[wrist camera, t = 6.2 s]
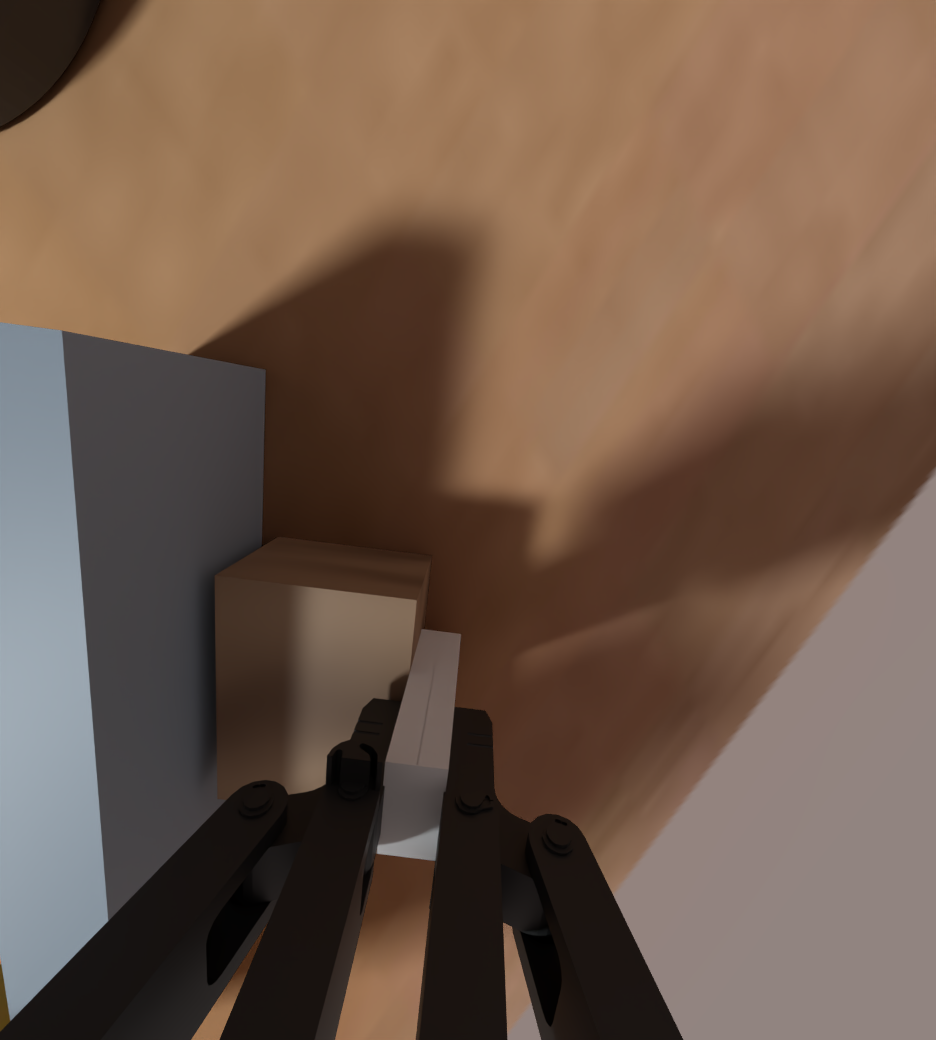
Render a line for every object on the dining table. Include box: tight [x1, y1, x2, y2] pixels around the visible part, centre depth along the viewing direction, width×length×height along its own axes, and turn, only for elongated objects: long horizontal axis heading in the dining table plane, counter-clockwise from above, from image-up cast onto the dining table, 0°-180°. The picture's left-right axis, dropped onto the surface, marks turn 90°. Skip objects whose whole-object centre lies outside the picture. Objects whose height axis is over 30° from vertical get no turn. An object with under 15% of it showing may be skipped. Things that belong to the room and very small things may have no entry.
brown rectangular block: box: [215, 537, 432, 800], centre depth 16 cm, size 8×6×4 cm
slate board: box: [0, 323, 266, 1021], centre depth 14 cm, size 20×3×8 cm, turn 173°
